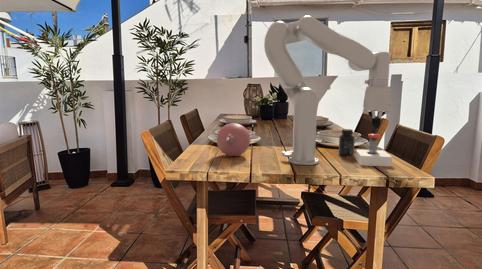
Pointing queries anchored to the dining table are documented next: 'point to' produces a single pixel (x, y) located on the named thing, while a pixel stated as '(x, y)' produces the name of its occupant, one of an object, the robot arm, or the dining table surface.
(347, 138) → the supplement bottle
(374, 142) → the red topped grey cylinder
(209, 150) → the dining table surface
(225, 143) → the pink rounded piece
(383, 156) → the socket block
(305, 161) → the robot arm
